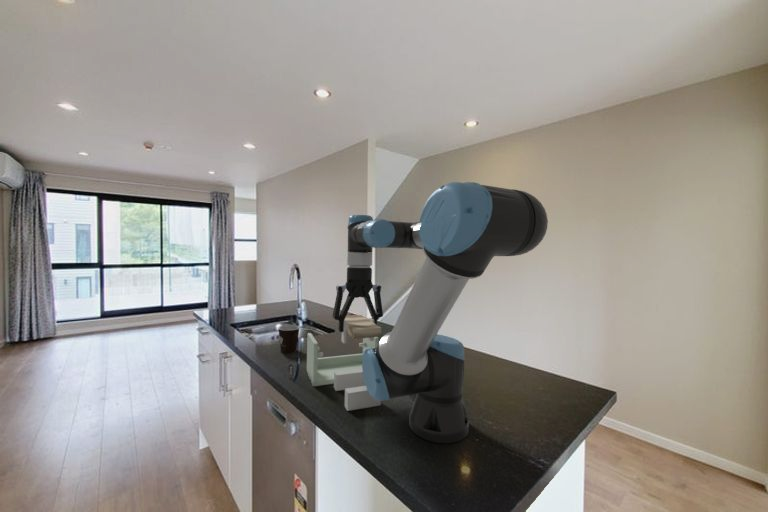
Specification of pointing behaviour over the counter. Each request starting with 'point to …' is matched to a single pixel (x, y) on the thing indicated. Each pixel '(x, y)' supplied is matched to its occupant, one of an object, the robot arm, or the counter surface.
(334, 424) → the counter surface
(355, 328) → the stacked rolled towels
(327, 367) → the shelf unit
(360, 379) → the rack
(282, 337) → the coffee mug
